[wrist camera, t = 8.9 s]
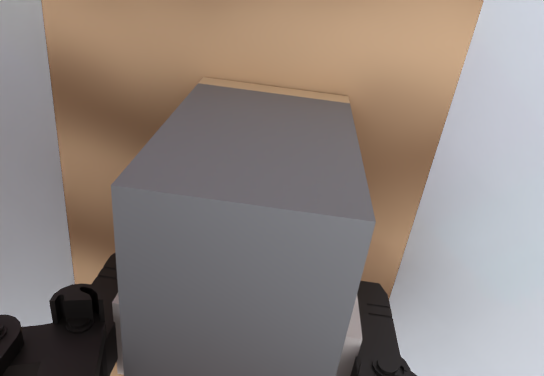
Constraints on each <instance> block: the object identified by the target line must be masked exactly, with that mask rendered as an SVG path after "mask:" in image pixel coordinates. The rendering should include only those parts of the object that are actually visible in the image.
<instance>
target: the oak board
mask: <svg viewBox="0 0 544 376" xmlns="http://www.w3.org/2000/svg"><path fill="white" fill-rule="evenodd" d="M41 2H42V10H43V18H44V27H45V35H46V44H47V52H48V61H49V69H50V77H51V86H52V94H53V103H54V111H55V120H56V128H57V137H58V145H59V153H60V162H61V170H62V179H63V187H64V196H65V204H66V212H67V221H68V229H69V238H70V246H71V255H72V263H73V271H74V280H75V284H81V283H82V284H92V283H93V281H94V280H95V278H96V277H97V276H98V274H99V272H100V271H101V269H103V266H104V265H105V263H106V261H107V260H108V258H109V257H110V256H111V255H112V254H114V253H115V239H114V225H113V210H112V196H111V184H112V183H113V182H114V181H115V180H116V179H117V177H118V176H119V175H120V174H121V173H122V172H123V170H124V169H125V168H126V167H127V166H128V165H129V163H130V162H131V161H132V160H133V159H134V158H135V156H136V155H137V154H138V153H139V152H140V151H141V149H142V148H143V147H144V146H145V145H146V144H147V142H148V141H149V140H150V139H151V138H152V137H153V135H154V134H155V133H156V132H157V131H158V130H159V128H160V127H161V126H162V125H163V124H164V123H165V121H166V120H167V119H168V118H169V117H170V115H171V114H172V113H173V112H174V111H175V110H176V108H177V107H178V106H179V105H180V104H181V103H182V101H183V100H184V99H185V98H186V97H187V96H188V94H189V93H190V92H191V91H192V90H193V89H194V87H195V86H196V85H197V84H198V83H199V82H200V80H201V79H202V78H203V77H207V78H215V79H222V80H230V81H237V82H245V83H252V84H260V85H268V86H275V87H283V88H290V89H298V90H305V91H313V92H320V93H328V94H336V95H343V96H348V97H349V101H350V106H351V110H352V115H353V120H354V124H355V129H356V133H357V138H358V142H359V147H360V152H361V156H362V161H363V165H364V170H365V174H366V179H367V184H368V188H369V193H370V197H371V202H372V206H373V211H374V216H375V220H376V223H375V227H374V231H373V235H372V239H371V243H370V246H369V250H368V254H367V258H366V262H365V266H364V269H363V273H362V277H361V281H367V282H374V283H379V284H380V285H381V286H382V288H383V289H384V290H385V292H386V293H387V294H388V299H389V297H390V294H391V291H392V288H393V285H394V282H395V279H396V275H397V272H398V269H399V266H400V263H401V260H402V256H403V253H404V250H405V247H406V244H407V241H408V238H409V234H410V231H411V228H412V225H413V222H414V219H415V216H416V212H417V209H418V206H419V203H420V200H421V197H422V193H423V190H424V187H425V184H426V181H427V178H428V175H429V171H430V168H431V165H432V162H433V159H434V156H435V152H436V149H437V146H438V143H439V140H440V137H441V134H442V130H443V127H444V124H445V121H446V118H447V115H448V111H449V108H450V105H451V102H452V99H453V96H454V93H455V89H456V86H457V83H458V80H459V77H460V74H461V70H462V67H463V64H464V61H465V58H466V55H467V52H468V48H469V45H470V42H471V39H472V36H473V33H474V29H475V26H476V23H477V20H478V17H479V14H480V11H481V7H482V4H483V0H41ZM110 376H124V375H123V374H118V372H117V362H116V364H115V366H114V368H113V370H112V372H111V374H110Z"/></svg>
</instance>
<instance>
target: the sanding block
mask: <svg viewBox="0 0 544 376" xmlns="http://www.w3.org/2000/svg"><path fill="white" fill-rule="evenodd" d="M111 196H112V210H113V225H114V239H115V254H116V268H117V283H118V297H119V312H120V326H121V341H122V355H123V370H124V376H336V373H337V369H338V365H339V361H340V357H341V354H342V350H343V346H344V342H345V338H346V334H347V331H348V327H349V323H350V319H351V315H352V312H353V308H354V304H355V300H356V296H357V292H358V289H359V285H360V281H361V277H362V273H363V269H364V266H365V262H366V258H367V254H368V250H369V246H370V243H371V239H372V235H373V231H374V227H375V223H376V220H375V216H374V211H373V206H372V202H371V197H370V193H369V188H368V184H367V179H366V174H365V170H364V165H363V161H362V156H361V152H360V147H359V142H358V138H357V133H356V129H355V124H354V120H353V115H352V110H351V106H350V101H349V97H348V96H343V95H336V94H328V93H320V92H313V91H305V90H298V89H290V88H283V87H275V86H268V85H260V84H252V83H245V82H237V81H230V80H222V79H215V78H207V77H203V78H202V79H201V80H200V82H199V83H198V84H197V85H196V86H195V87H194V89H193V90H192V91H191V92H190V93H189V94H188V96H187V97H186V98H185V99H184V100H183V101H182V103H181V104H180V105H179V106H178V107H177V108H176V110H175V111H174V112H173V113H172V114H171V115H170V117H169V118H168V119H167V120H166V121H165V123H164V124H163V125H162V126H161V127H160V128H159V130H158V131H157V132H156V133H155V134H154V135H153V137H152V138H151V139H150V140H149V141H148V142H147V144H146V145H145V146H144V147H143V148H142V149H141V151H140V152H139V153H138V154H137V155H136V156H135V158H134V159H133V160H132V161H131V162H130V163H129V165H128V166H127V167H126V168H125V169H124V170H123V172H122V173H121V174H120V175H119V176H118V177H117V179H116V180H115V181H114V182H113V183H112V184H111Z"/></svg>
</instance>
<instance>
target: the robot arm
mask: <svg viewBox="0 0 544 376" xmlns="http://www.w3.org/2000/svg"><path fill="white" fill-rule="evenodd" d="M50 307H51V314H52V320H53V323H50V324H45V325H38V326H28V327H21V325H20V322H19V321H18V320H17V319H16V318H15V317H13V316H10V315H0V376H110V374H111V372H112V370H113V368H114V366H115V364H116V362H117V372H118V374H123V375H124V370H123V355H122V341H121V326H120V312H119V297H118V283H117V268H116V254H115V253H114V254H112V255H111V256H110V257H109V258H108V260H107V261H106V263H105V265H104V266H103V269H101V271H100V272H99V274H98V276H97V277H96V278H95V280H94V281H93V283H92V284H82V283H81V284H74V285H70V286H67V287H65V288H62V289H60V290H59V291H58V292H56V293H55V294H54V295H53V297H52V298H51V300H50ZM336 376H417V375H415V374H414V373H413V372H411V371H410V368H409V366H408V364H407V363H406V361H405V360H404V359H403V358H401V356H400V352H399V347H398V343H397V338H396V333H395V328H394V323H393V319H392V313H391V309H390V304H389V299H388V294H387V293H386V292H385V290H384V289H383V288H382V286H381V285H380V284H379V283H374V282H367V281H360V285H359V289H358V292H357V296H356V300H355V304H354V308H353V312H352V315H351V319H350V323H349V327H348V331H347V334H346V338H345V342H344V346H343V350H342V354H341V357H340V361H339V365H338V369H337V373H336Z"/></svg>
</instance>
